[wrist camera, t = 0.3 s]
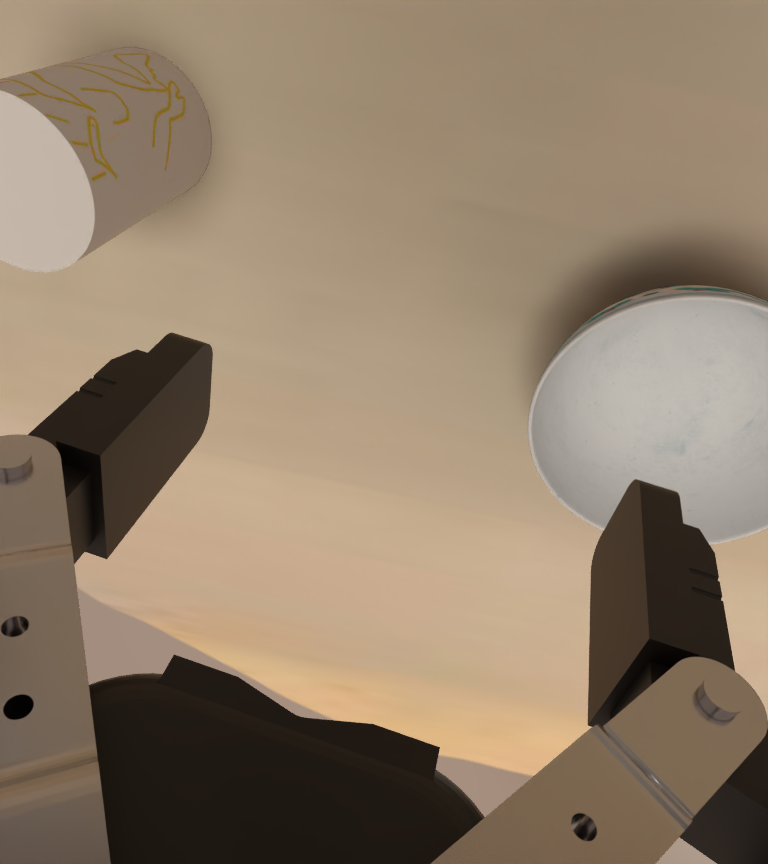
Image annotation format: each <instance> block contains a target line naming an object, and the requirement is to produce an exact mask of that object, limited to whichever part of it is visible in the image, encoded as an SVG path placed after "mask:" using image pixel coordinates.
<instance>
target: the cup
mask: <svg viewBox="0 0 768 864" xmlns="http://www.w3.org/2000/svg"><path fill="white" fill-rule="evenodd" d="M211 142H212V140H211V128H210V123H209V119H208V115H207V112H206V109H205V107H204V104H203V102H202V100H201V98H200V96H199V94H198V92H197V91H196V89H195V88H194V86H193V85H192V83H191V82H190V81H189V79H188V78H187V77H186V76H185V75H184V74H183V73H182V72H181V71H180V70H179V69H178V68H177V67H176V66H175V65H174V64H172V63H171V62H170V61H168V60H167V59H165V58H164V57H162V56H160V55H158V54H156V53H154V52H151V51H148V50H145V49H141V48H132V47H128V48H120V49H116V50H112V51H108V52H104V53H100V54H96V55H92V56H89V57H85V58H81V59H77V60H73V61H69V62H65V63H61V64H58V65H54V66H50V67H46V68H42V69H38V70H34V71H30V72H26V73H23V74H19V75H15V76H11V77H7V78H3V79H0V260H2V261H4V262H6V263H8V264H10V265H13V266H15V267H18V268H21V269H24V270H28V271H33V272H54V271H58V270H62V269H64V268H67V267H69V266H70V265H72V264H74V263H75V262H77V261H78V260H80V259H81V258H83V257H84V256H86V255H88V254H89V253H91V252H92V251H94V250H95V249H97V248H98V247H100V246H102V245H103V244H105V243H106V242H108V241H109V240H111V239H113V238H114V237H116V236H117V235H119V234H120V233H122V232H123V231H125V230H127V229H128V228H130V227H131V226H133V225H134V224H136V223H137V222H139V221H141V220H142V219H144V218H145V217H147V216H148V215H150V214H151V213H153V212H155V211H156V210H158V209H159V208H161V207H162V206H164V205H165V204H167V203H169V202H170V201H172V200H173V199H175V198H176V197H178V196H180V195H181V194H183V193H184V192H186V191H187V190H189V189H190V188H192V187H193V186H194V185H195V184H196V183H197V182H198V181H199V180H200V178H201V177H202V176H203V174H204V172H205V170H206V168H207V165H208V162H209V159H210V154H211Z"/></svg>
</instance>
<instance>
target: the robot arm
mask: <svg viewBox="0 0 768 864" xmlns="http://www.w3.org/2000/svg"><path fill="white" fill-rule="evenodd" d="M212 356H213V353H212V347H211V346H210V345H209V344H207V343H203V342H200V341H197V340H194V339H191V338H187V337H184V336H181V335H178V334H175V333H169V334H167V335H166V336H165V337H164V338H163V339H162V340H161V341H160V342H159V343H158V344H157V345H156V346H155V347H154V348H152V349H151V350H150V351H149V352H148V353H146V352H143V351H140V350H134V351H132V352H129V353H127V354H124V355H122V356H119V357H117V358H115V359H112V360H111V361H109V362H108V363H107V364H106V365H105V366H104V367H103V368H102V369H100V370H99V371H98V372H97V373H96V374H95V375H94V378H93V379H91V378H90V379H89V380H88V381H87V382H86V383H85V384H84V385H83V386H82V387H80V390H79V392H78V391H76V392H75V393H74V394H73V395H72V396H70V397H69V398H68V399H67V400H66V401H65V402H64V403H63V404H62V405H60V406H59V407H58V408H57V409H56V410H55V411H54V412H53V413H52V414H50V415H49V416H48V417H47V418H46V419H45V420H44V421H43V422H42V423H40V424H39V425H38V426H37V427H36V428H35V429H34V430H33V431H32V432H30V433H29V434H28V435H6V436H0V864H655V863H656V862H657V861H658V860H659V859H660V858H661V857H662V856H663V855H664V853H665V852H666V851H667V850H668V849H669V848H670V847H671V845H672V844H673V843H674V842H675V841H676V840H677V839H678V838H679V837H680V838H681V839H683V840H684V841H686V842H687V843H689V844H690V845H692V846H693V847H694V848H696V849H697V850H699V851H700V852H701V853H703V854H704V855H706V856H707V857H709V858H710V859H711V860H713V861H714V862H716V863H717V864H768V719H767V714H766V711H765V708H764V705H763V703H762V701H761V699H760V698H759V696H758V695H757V693H756V692H755V690H754V689H753V688H752V687H751V685H750V684H749V683H748V682H747V681H746V680H745V679H744V678H743V677H741V676H740V675H739V674H738V673H736V672H735V668H734V662H733V656H732V651H731V645H730V639H729V633H728V628H727V622H726V616H725V610H724V604H723V601H721V598H722V593H721V587H720V582H719V581H718V577H719V575H718V570H717V564H716V558H715V553H714V551H713V550H712V548H711V547H710V545H709V543H708V542H707V540H706V539H705V537H704V535H703V534H702V532H701V531H700V529H699V528H696V527H693V526H690V525H687V524H683V517H682V509H681V502H680V496H679V493H678V492H676V491H673V490H670V489H666V488H663V487H660V486H657V485H654V484H650V483H647V482H644V481H641V480H638V479H635V480H633V481H632V482H631V484H630V485H629V486H628V488H627V490H626V492H625V493H624V495H623V497H622V499H621V501H620V502H619V504H618V506H617V508H616V510H615V511H614V513H613V515H612V517H611V519H610V520H609V522H608V524H607V526H606V528H605V529H604V531H603V533H602V535H601V537H600V539H599V541H598V543H597V546H596V549H595V552H594V556H593V560H592V566H591V597H590V645H589V693H588V725H589V726H591V727H592V728H590V729H589V730H588V731H587V732H585V733H584V734H583V735H582V736H581V737H580V738H578V739H577V740H576V741H575V742H574V743H572V744H571V745H570V746H569V747H568V748H567V749H565V750H564V751H563V752H562V753H561V754H559V755H558V756H557V757H556V758H555V759H554V760H552V761H551V762H550V763H549V764H548V765H546V766H545V767H544V768H543V769H542V770H541V771H539V772H538V773H537V774H536V775H535V776H533V777H532V778H531V779H530V780H529V781H528V782H526V783H525V784H524V785H523V786H522V787H520V788H519V789H518V790H517V791H516V792H515V793H513V794H512V795H511V796H510V797H509V798H507V799H506V800H505V801H504V802H503V803H502V804H500V805H499V806H498V807H497V808H496V809H494V810H493V811H492V812H491V813H490V814H489V815H487V816H486V817H484V816H483V814H482V813H481V812H480V811H479V810H478V808H477V807H476V806H475V804H474V803H473V802H472V801H471V799H470V798H469V797H468V796H467V795H466V794H465V793H464V792H463V791H462V790H461V789H460V788H459V787H458V786H456V785H455V784H454V783H453V782H452V781H451V780H449V779H448V778H447V777H446V776H444V775H443V774H441V773H440V772H438V771H437V770H436V764H437V759H438V754H439V749H440V747H437V746H434V745H431V744H428V743H425V742H423V741H420V740H417V739H414V738H411V737H408V736H405V735H403V734H400V733H397V732H394V731H391V730H388V729H385V728H383V727H380V726H377V725H374V724H366V723H355V722H344V721H333V720H322V719H312V718H304V717H299V716H297V715H295V714H293V713H291V712H290V711H288V710H287V709H285V708H284V707H282V706H281V705H279V704H278V703H276V702H275V701H273V700H272V699H270V698H269V697H267V696H266V695H264V694H263V693H261V692H260V691H258V690H257V689H255V688H254V687H252V686H251V685H249V684H248V683H246V682H245V681H243V680H242V679H240V678H239V677H236V676H233V675H231V674H228V673H225V672H222V671H219V670H216V669H214V668H211V667H208V666H205V665H202V664H199V663H196V662H193V661H191V660H188V659H185V658H182V657H179V656H176V655H174V656H173V658H172V659H171V661H170V663H169V665H168V666H167V668H166V670H165V672H164V673H163V674H153V673H152V674H132V675H126V676H118V677H114V678H110V679H106V680H102V681H99V682H96V683H94V684H91V685H89V683H88V675H87V666H86V658H85V650H84V642H83V634H82V625H81V617H80V609H79V601H78V592H77V584H76V576H75V567H74V564H75V563H76V561H77V560H78V559H79V558H80V557H81V555H82V554H83V553H84V552H88V553H91V554H93V555H96V556H99V557H102V558H105V559H107V558H108V557H109V556H110V555H111V553H112V552H113V551H114V549H115V548H116V547H117V546H118V544H119V543H120V542H121V540H122V539H123V538H124V537H125V535H126V534H127V533H128V531H129V530H130V529H131V527H132V526H133V525H134V524H135V522H136V521H137V520H138V518H139V517H140V516H141V515H142V513H143V512H144V511H145V509H146V508H147V507H148V506H149V504H150V503H151V502H152V500H153V499H154V498H155V496H156V495H157V494H158V493H159V491H160V490H161V489H162V487H163V486H164V485H165V484H166V482H167V481H168V480H169V478H170V477H171V476H172V475H173V473H174V472H175V471H176V469H177V468H178V467H179V465H180V464H181V463H182V462H183V460H184V459H185V458H186V456H187V455H188V454H189V453H190V451H191V450H192V449H193V447H194V446H195V445H196V444H197V442H198V441H199V439H200V438H201V436H202V434H203V432H204V429H205V426H206V424H207V420H208V416H209V409H210V392H211V374H212Z"/></svg>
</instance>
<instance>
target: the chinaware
mask: <svg viewBox="0 0 768 864" xmlns="http://www.w3.org/2000/svg"><path fill="white" fill-rule="evenodd" d="M528 439H529V446H530V451H531V455H532V458H533V461H534V463H535V466H536V468H537V471H538V472H539V474H540V476H541V478H542V480H543V481H544V483H545V484H546V486H547V487H548V489H549V490H550V491H551V492H552V494H553V495H554V496H555V497H556V498H557V499H558V500H559V501H560V502H561V503H562V504H563V505H564V506H565V507H566V508H567V509H569V510H570V511H571V512H572V513H574V514H575V515H576V516H578V517H579V518H581V519H582V520H584V521H585V522H587V523H589V524H591V525H592V526H594V527H596V528H598V529H600V530H602V531H604V529H605V528H606V526H607V524H608V522H609V520H610V519H611V517H612V515H613V513H614V511H615V510H616V508H617V506H618V504H619V502H620V501H621V499H622V497H623V495H624V493H625V492H626V490H627V488H628V486H629V485H630V484H631V482H632V481H633V480H635V479H638V480H641V481H644V482H647V483H650V484H654V485H657V486H660V487H663V488H666V489H670V490H673V491H676V492H678V493H679V496H680V502H681V509H682V517H683V524H687V525H690V526H693V527H696V528H699V529H700V531H701V532H702V534H703V535H704V537H705V539H706V540H707V542H708V543H709V545H712V544H718V543H724V542H728V541H732V540H736V539H740V538H743V537H747V536H749V535H752V534H755V533H758V532H760V531H763V530H765V529H767V528H768V302H767V301H765V300H762V299H760V298H758V297H755V296H752V295H749V294H746V293H743V292H739V291H736V290H731V289H727V288H721V287H714V286H703V285H681V286H671V287H664V288H658V289H654V290H649V291H646V292H642V293H639V294H636V295H633V296H630V297H628V298H625V299H623V300H621V301H619V302H617V303H615V304H613V305H611V306H609V307H607V308H605V309H604V310H602V311H601V312H599V313H597V314H596V315H594V316H593V317H592V318H590V319H589V320H588V321H586V322H585V323H584V324H583V325H582V326H580V327H579V328H578V329H577V330H576V331H575V332H574V333H573V334H572V335H571V336H570V337H569V338H568V339H567V340H566V341H565V342H564V343H563V345H562V346H561V347H560V348H559V350H558V351H557V352H556V354H555V355H554V356H553V358H552V359H551V361H550V362H549V364H548V365H547V367H546V369H545V371H544V372H543V374H542V376H541V378H540V380H539V382H538V385H537V387H536V389H535V392H534V395H533V398H532V401H531V406H530V410H529V417H528Z"/></svg>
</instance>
